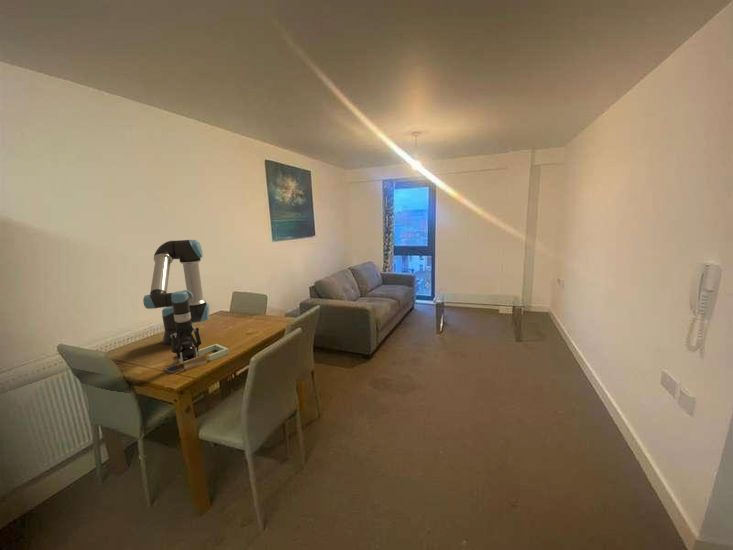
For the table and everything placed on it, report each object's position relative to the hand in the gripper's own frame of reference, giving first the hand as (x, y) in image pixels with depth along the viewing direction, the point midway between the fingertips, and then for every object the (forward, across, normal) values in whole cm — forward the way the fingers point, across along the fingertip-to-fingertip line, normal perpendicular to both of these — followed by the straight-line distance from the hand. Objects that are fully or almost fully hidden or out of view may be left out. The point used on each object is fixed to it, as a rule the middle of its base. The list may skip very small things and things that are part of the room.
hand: (188, 360), depth 166 cm
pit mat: (+2, -8, 0) cm, 8 cm away
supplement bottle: (+2, 0, 0) cm, 2 cm away
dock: (+2, +13, 0) cm, 13 cm away
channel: (+2, 0, 0) cm, 2 cm away
